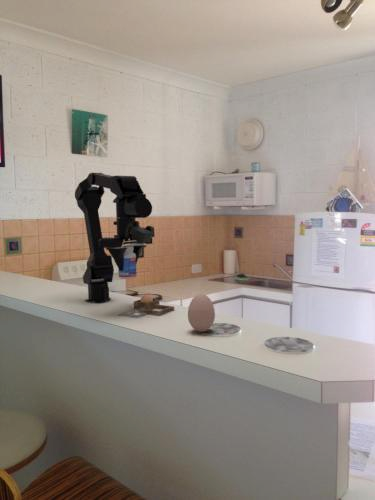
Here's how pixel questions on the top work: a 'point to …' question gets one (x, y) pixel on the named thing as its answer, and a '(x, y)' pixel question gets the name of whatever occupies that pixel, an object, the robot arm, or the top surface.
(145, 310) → the walnut socket
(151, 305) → the walnut frame
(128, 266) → the pill bottle
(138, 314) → the slate card
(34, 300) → the top surface
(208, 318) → the egg
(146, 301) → the terracotta ball
